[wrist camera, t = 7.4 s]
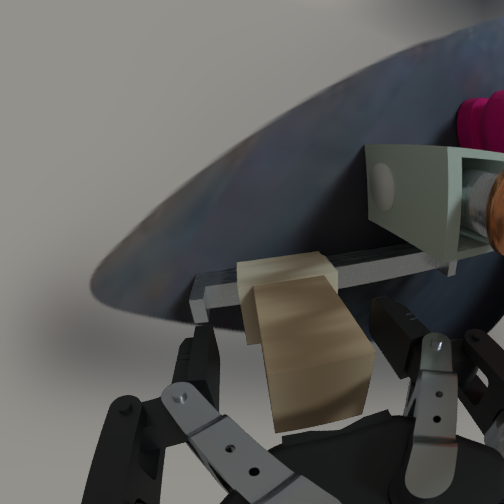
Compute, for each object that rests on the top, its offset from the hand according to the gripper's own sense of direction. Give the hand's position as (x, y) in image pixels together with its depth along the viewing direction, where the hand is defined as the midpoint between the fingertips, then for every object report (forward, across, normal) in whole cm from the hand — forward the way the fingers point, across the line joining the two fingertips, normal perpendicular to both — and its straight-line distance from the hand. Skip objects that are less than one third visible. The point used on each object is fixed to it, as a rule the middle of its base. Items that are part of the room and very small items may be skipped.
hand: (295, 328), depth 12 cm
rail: (+6, -4, 0) cm, 7 cm away
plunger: (+2, -10, -5) cm, 11 cm away
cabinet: (+6, -10, -5) cm, 13 cm away
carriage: (+5, 0, 0) cm, 5 cm away
